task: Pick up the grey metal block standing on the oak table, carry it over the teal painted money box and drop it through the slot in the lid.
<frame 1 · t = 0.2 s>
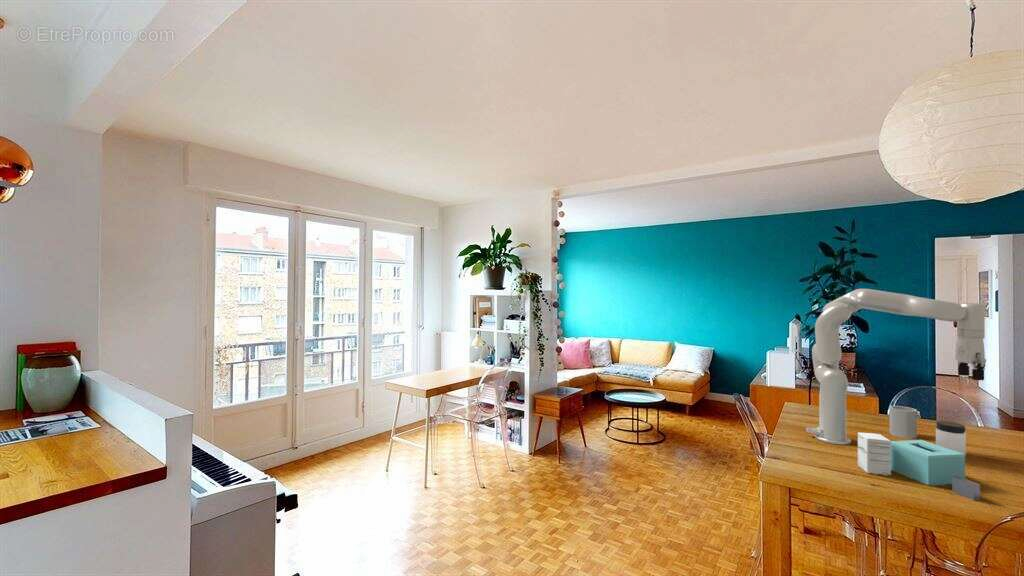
hand: (970, 377, 172), 31 cm above the table, tool pointing down, fingers open, 9 cm apart
grey metal block: (965, 496, 139), on the table
supplement box: (873, 471, 158), on the table
cup: (903, 435, 197), on the table
jar: (950, 454, 174), on the table
coin box: (925, 475, 154), on the table
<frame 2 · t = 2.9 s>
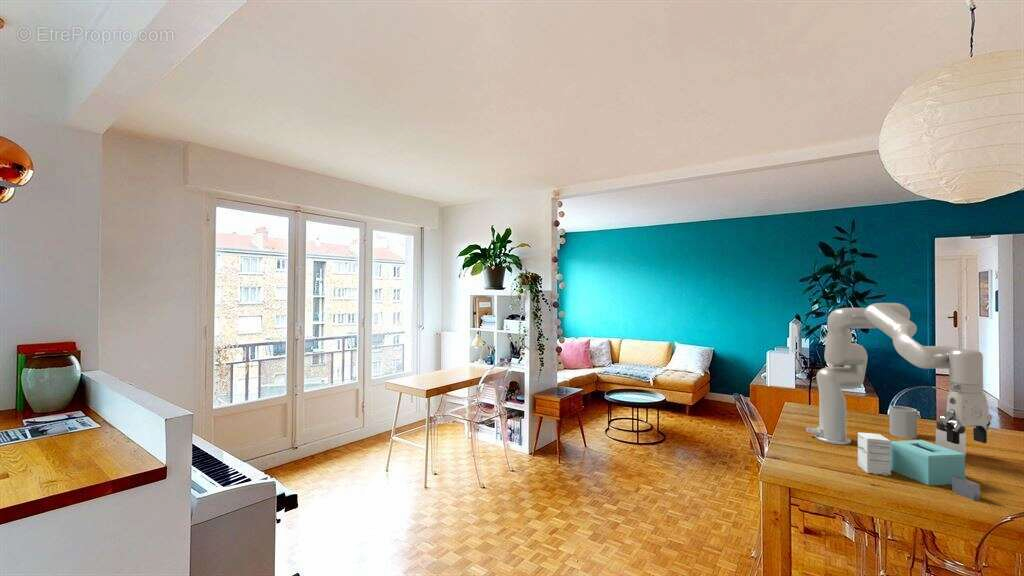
hand: (966, 442, 139), 17 cm above the table, tool pointing down, fingers open, 9 cm apart
nothing on the table moved.
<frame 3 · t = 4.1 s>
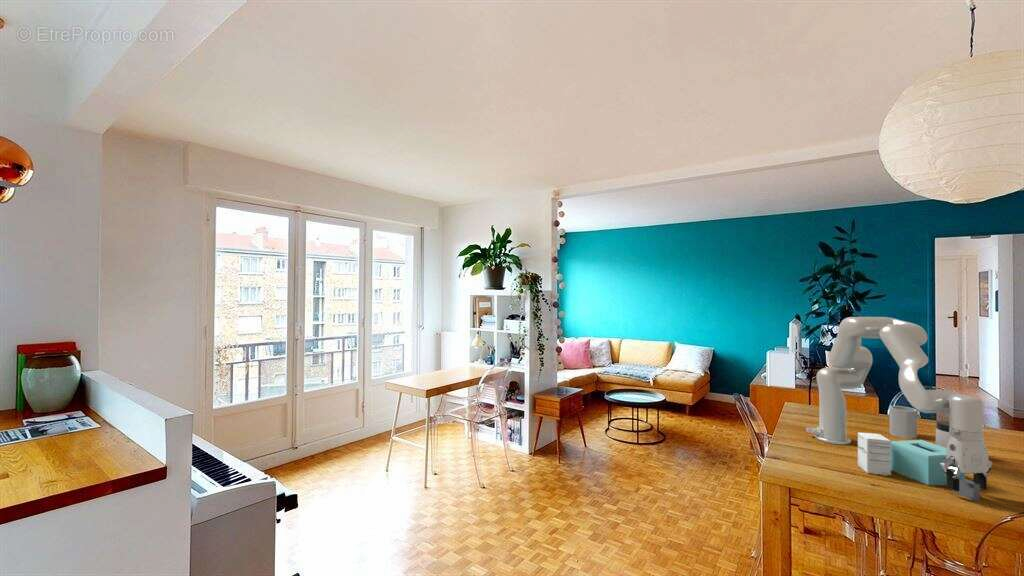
hand: (966, 488, 139), 2 cm above the table, tool pointing down, fingers open, 9 cm apart
nothing on the table moved.
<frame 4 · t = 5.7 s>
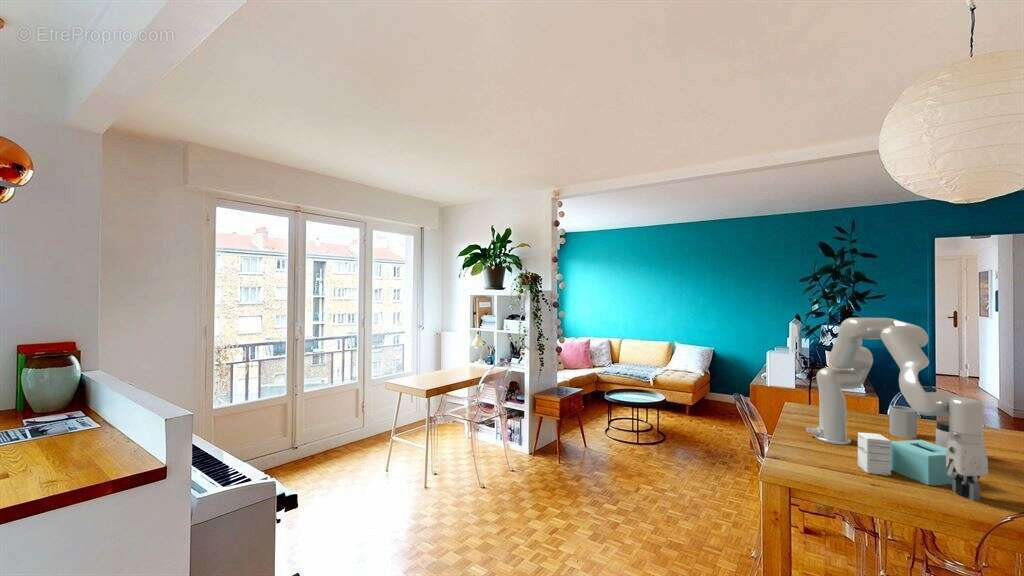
hand: (965, 494, 139), 0 cm above the table, tool pointing down, fingers closed on grey metal block, 1 cm apart
grey metal block: (965, 495, 139), on the table, touching gripper
everything else where it was.
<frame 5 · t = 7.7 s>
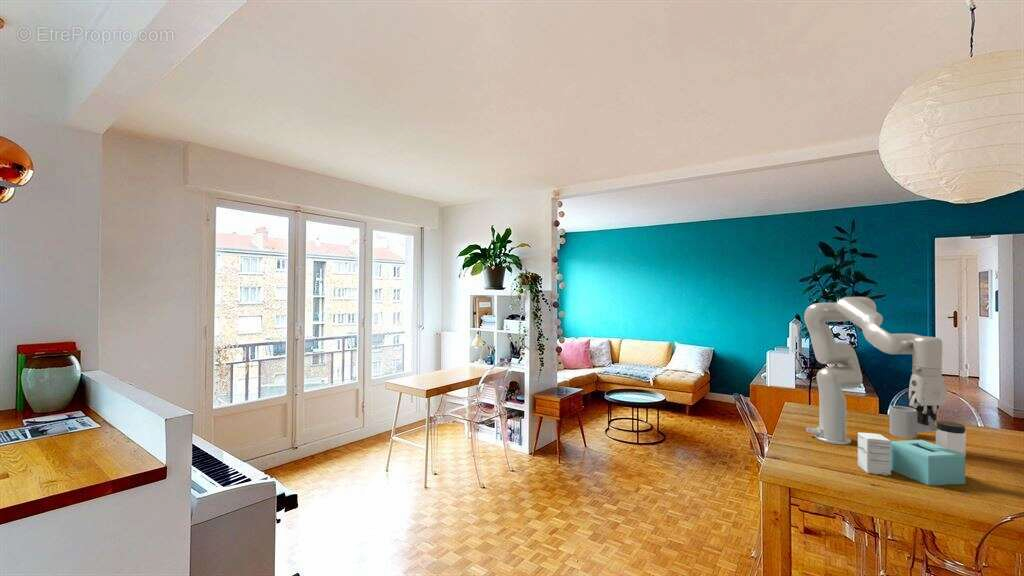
hand: (925, 423, 153), 19 cm above the table, tool pointing down, fingers closed on grey metal block
grey metal block: (926, 431, 153), point 16 cm above the table, tilted 22°, touching gripper
everything else where it was.
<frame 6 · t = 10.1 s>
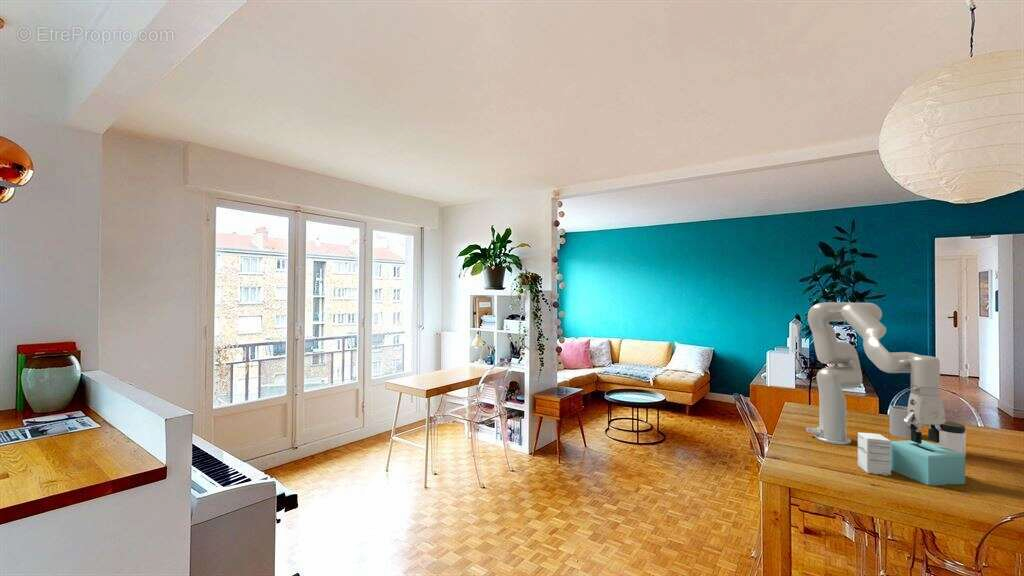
hand: (925, 441, 154), 12 cm above the table, tool pointing down, fingers open, 6 cm apart
grey metal block: (936, 469, 150), point 4 cm above the table, tilted 90°, touching coin box
everything else where it was.
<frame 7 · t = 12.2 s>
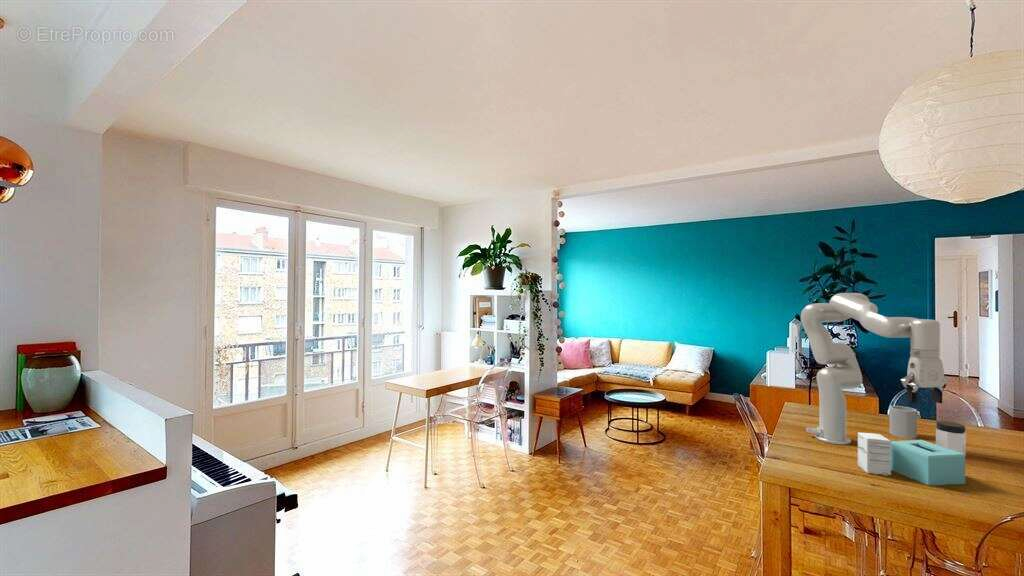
hand: (924, 402, 154), 26 cm above the table, tool pointing down, fingers open, 9 cm apart
nothing on the table moved.
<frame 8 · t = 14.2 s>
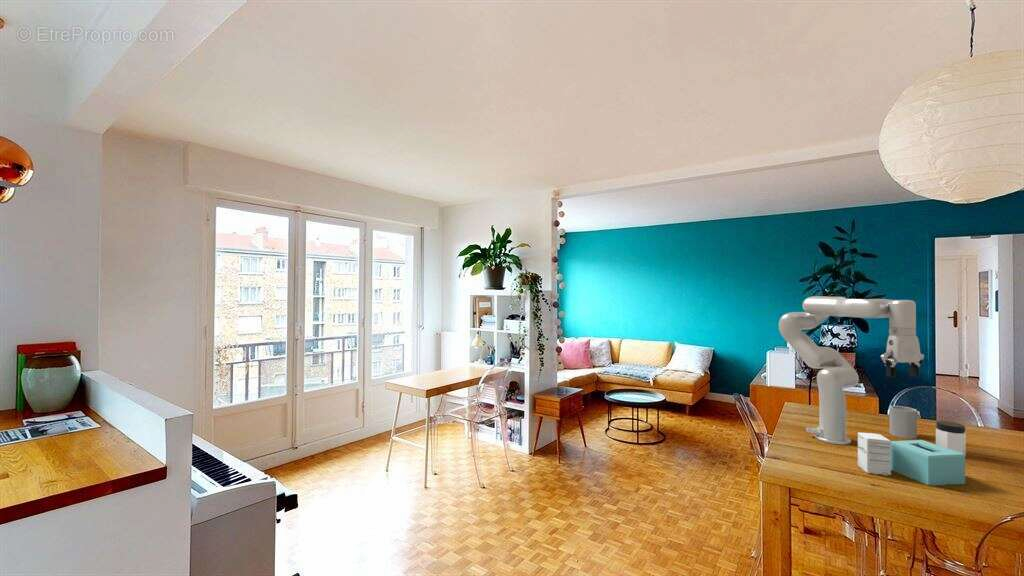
hand: (902, 377, 166), 32 cm above the table, tool pointing down, fingers open, 9 cm apart
nothing on the table moved.
at the end: grey metal block 3.9 cm from the coin box (horizontally); grey metal block point 3.8 cm above the table; the gripper is holding nothing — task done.
